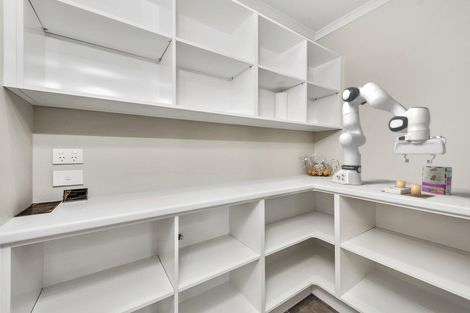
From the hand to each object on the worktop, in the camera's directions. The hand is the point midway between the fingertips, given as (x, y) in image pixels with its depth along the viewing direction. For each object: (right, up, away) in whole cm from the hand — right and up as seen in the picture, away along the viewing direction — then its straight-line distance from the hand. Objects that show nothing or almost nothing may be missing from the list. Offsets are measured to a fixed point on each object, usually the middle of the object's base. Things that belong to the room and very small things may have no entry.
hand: (417, 162), depth 102 cm
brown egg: (0, -18, +1) cm, 18 cm away
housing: (-2, -17, +10) cm, 20 cm away
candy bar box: (+19, -19, +9) cm, 28 cm away
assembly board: (0, -19, +7) cm, 20 cm away
